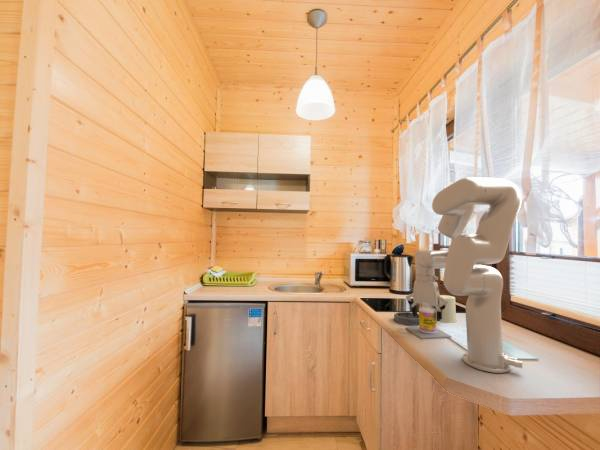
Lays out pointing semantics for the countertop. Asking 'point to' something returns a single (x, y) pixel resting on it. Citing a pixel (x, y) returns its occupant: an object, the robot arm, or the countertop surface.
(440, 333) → the mat
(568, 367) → the countertop surface
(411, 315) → the collar
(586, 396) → the countertop surface
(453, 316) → the can
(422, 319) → the supplement bottle
